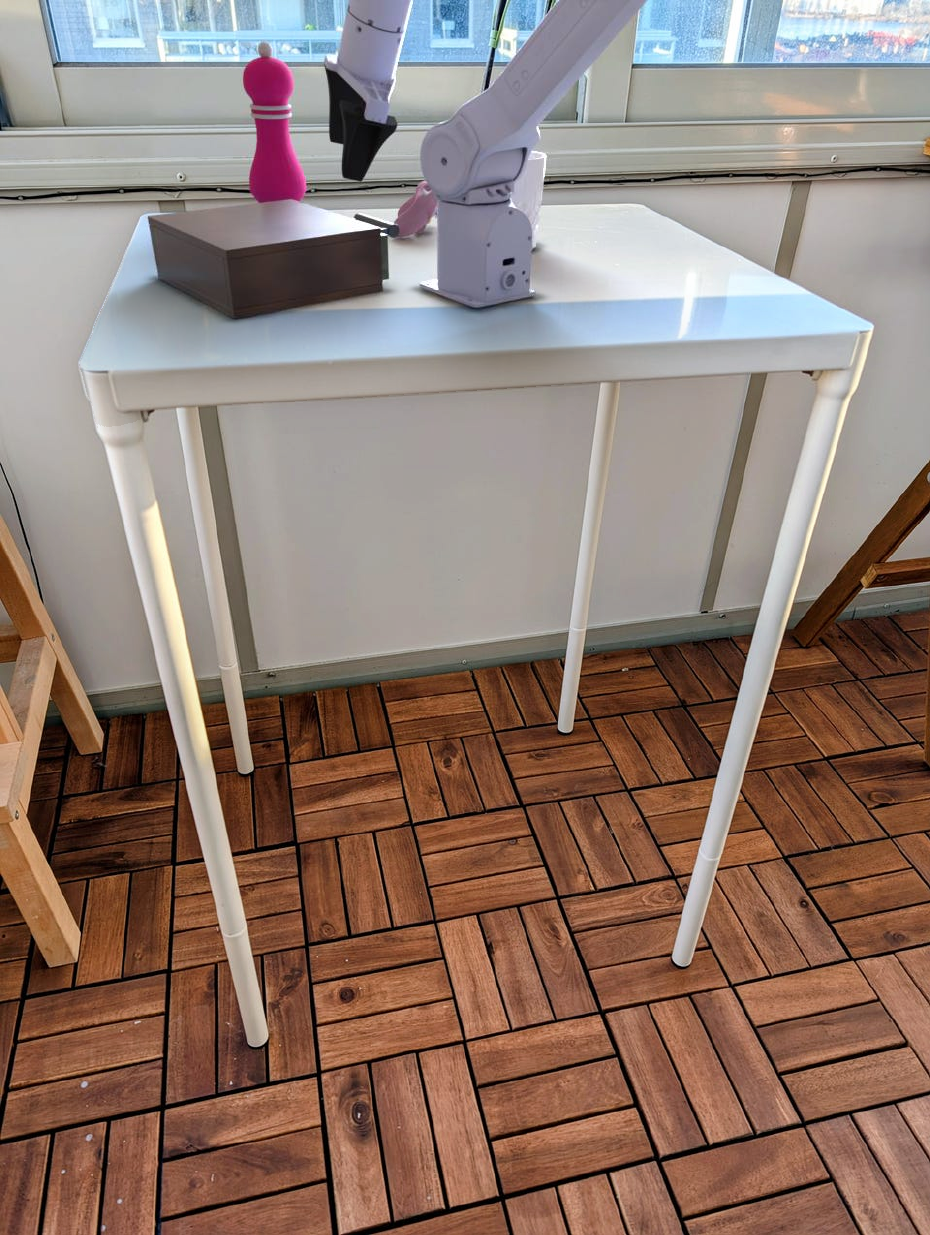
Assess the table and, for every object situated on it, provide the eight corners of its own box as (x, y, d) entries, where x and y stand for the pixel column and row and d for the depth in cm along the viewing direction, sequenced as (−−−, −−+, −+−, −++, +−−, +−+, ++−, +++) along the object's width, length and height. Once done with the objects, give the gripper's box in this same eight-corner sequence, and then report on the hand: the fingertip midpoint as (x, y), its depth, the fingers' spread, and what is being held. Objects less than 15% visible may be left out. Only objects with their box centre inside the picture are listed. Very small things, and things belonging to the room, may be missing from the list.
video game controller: (421, 252, 112) (447, 198, 109) (388, 234, 111) (413, 178, 108) (426, 234, 120) (450, 184, 117) (395, 217, 119) (418, 165, 116)
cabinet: (296, 256, 103) (291, 198, 100) (383, 291, 92) (381, 227, 89) (157, 278, 95) (147, 216, 91) (234, 319, 84) (225, 250, 80)
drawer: (342, 242, 106) (340, 203, 103) (426, 272, 95) (425, 229, 93) (179, 267, 95) (172, 223, 93) (252, 304, 85) (247, 256, 82)
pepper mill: (297, 229, 115) (282, 43, 103) (244, 226, 116) (223, 41, 104) (316, 218, 121) (304, 41, 109) (265, 215, 122) (247, 39, 110)
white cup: (541, 240, 112) (546, 150, 106) (539, 255, 106) (545, 160, 100) (478, 237, 113) (480, 148, 107) (472, 252, 106) (474, 158, 101)
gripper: (323, -23, 88) (297, 119, 98) (349, 39, 80) (319, 187, 89) (391, -3, 91) (360, 133, 101) (424, 59, 83) (386, 200, 92)
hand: (345, 160), depth 95 cm, fingers open, 7 cm apart
